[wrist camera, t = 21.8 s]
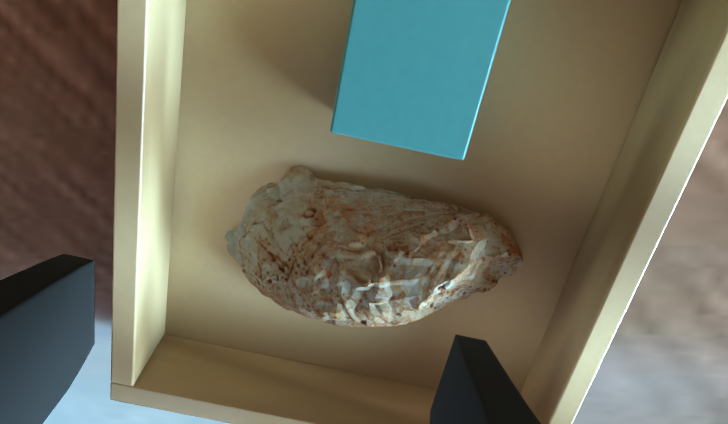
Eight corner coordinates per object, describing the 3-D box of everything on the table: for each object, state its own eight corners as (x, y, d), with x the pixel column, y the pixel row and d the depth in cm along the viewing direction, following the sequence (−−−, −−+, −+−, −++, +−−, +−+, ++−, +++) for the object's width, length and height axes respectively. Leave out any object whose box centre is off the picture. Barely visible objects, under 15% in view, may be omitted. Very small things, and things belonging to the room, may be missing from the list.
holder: (525, 414, 24) (543, 486, 21) (149, 338, 24) (109, 400, 21) (755, -125, 16) (841, -140, 13) (179, -257, 15) (120, -306, 12)
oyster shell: (501, 285, 23) (535, 188, 20) (510, 369, 20) (552, 273, 17) (237, 258, 23) (225, 156, 20) (212, 337, 20) (193, 235, 17)
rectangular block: (458, 140, 19) (464, 162, 17) (336, 114, 19) (328, 133, 17) (516, -63, 16) (529, -62, 15) (374, -94, 16) (370, -98, 14)
